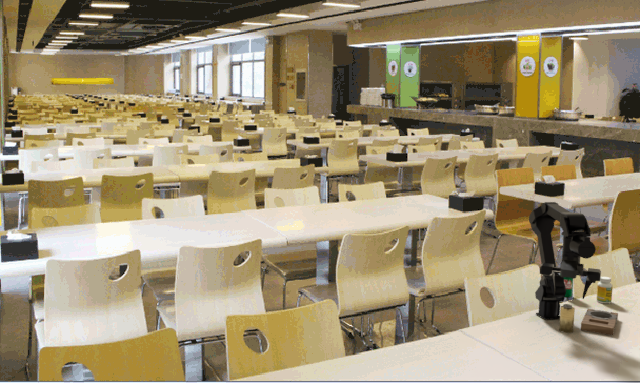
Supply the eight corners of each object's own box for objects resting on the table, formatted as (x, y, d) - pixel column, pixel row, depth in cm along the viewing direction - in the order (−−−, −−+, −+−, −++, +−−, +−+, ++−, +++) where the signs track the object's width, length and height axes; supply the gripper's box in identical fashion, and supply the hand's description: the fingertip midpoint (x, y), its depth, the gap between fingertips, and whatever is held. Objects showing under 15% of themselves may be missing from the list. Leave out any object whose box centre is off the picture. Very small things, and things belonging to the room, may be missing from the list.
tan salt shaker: (564, 333, 215) (566, 307, 213) (556, 328, 219) (558, 303, 218) (576, 332, 216) (577, 306, 215) (567, 327, 220) (569, 302, 219)
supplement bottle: (601, 299, 253) (603, 275, 252) (614, 302, 249) (616, 278, 248) (593, 301, 251) (595, 277, 249) (606, 304, 246) (607, 280, 245)
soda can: (558, 297, 255) (560, 267, 254) (558, 293, 260) (560, 264, 258) (572, 298, 253) (574, 269, 252) (572, 295, 258) (574, 266, 256)
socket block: (613, 335, 213) (613, 328, 213) (580, 330, 218) (581, 322, 218) (617, 319, 229) (618, 313, 228) (587, 315, 234) (587, 308, 233)
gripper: (538, 253, 210) (536, 299, 213) (601, 259, 202) (597, 307, 205) (543, 246, 220) (540, 290, 223) (602, 252, 212) (599, 298, 215)
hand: (568, 296), depth 216 cm, fingers open, 9 cm apart
